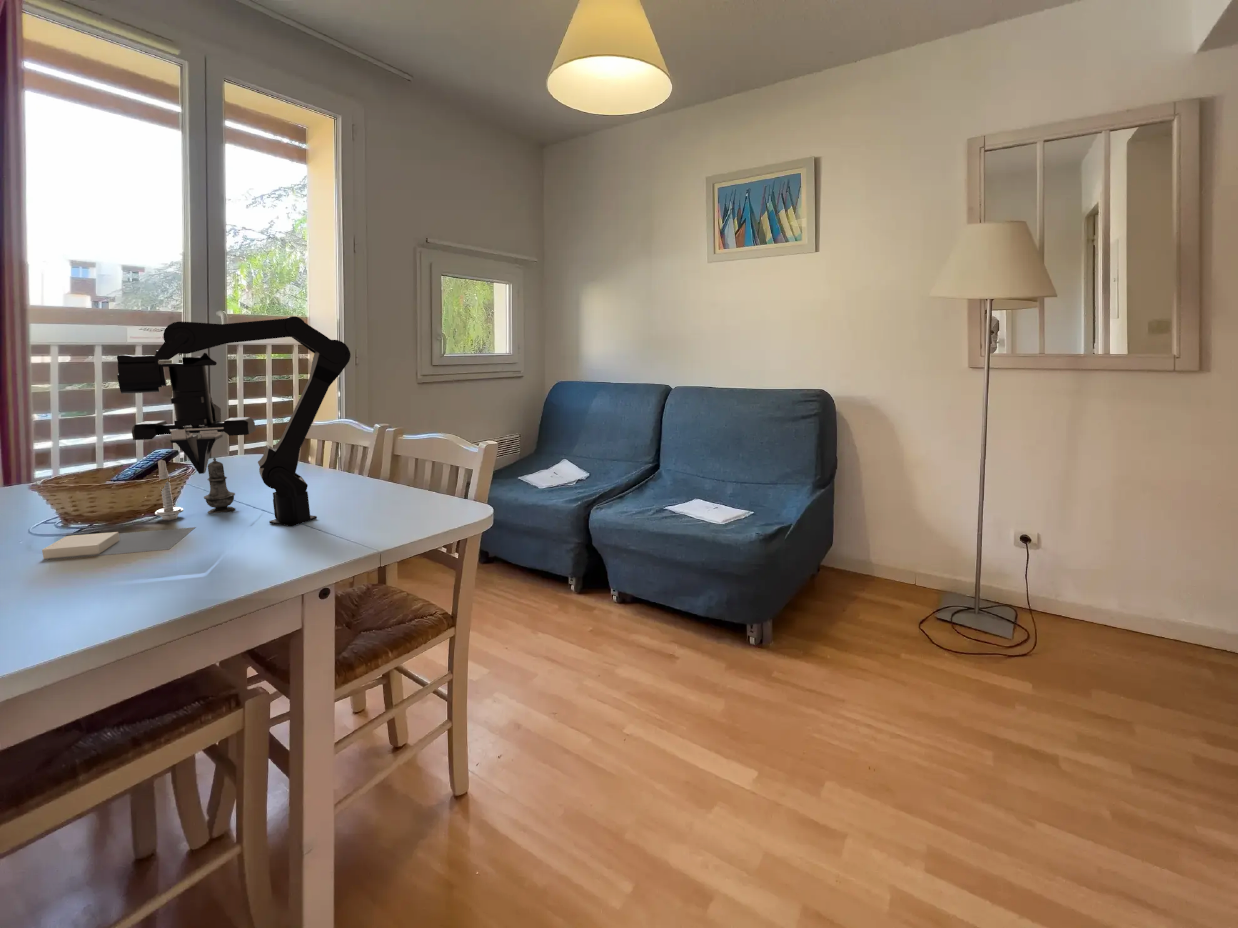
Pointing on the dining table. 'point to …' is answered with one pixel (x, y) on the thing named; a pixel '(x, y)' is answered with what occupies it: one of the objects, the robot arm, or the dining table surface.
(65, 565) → the dining table surface
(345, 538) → the dining table surface
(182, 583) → the dining table surface
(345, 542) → the dining table surface
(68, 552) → the tile
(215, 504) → the salt shaker
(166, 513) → the screw
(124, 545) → the mat
